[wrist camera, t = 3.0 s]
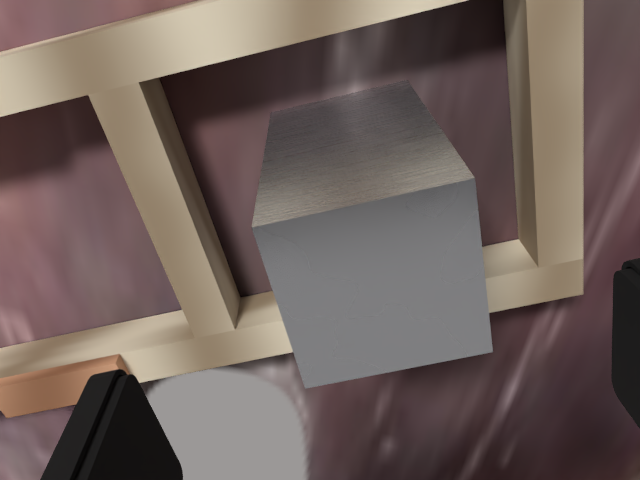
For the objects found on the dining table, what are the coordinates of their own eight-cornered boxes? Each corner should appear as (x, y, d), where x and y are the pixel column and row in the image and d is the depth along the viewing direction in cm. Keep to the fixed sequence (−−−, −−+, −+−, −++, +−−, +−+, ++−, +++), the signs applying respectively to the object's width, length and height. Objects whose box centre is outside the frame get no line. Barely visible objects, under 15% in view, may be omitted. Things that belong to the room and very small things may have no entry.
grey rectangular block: (407, 80, 18) (475, 178, 11) (426, 203, 20) (492, 352, 13) (270, 112, 18) (251, 227, 11) (304, 230, 20) (305, 388, 13)
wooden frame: (552, -92, 16) (592, -95, 13) (560, 264, 21) (589, 302, 19) (-272, 122, 18) (-352, 149, 16) (-62, 391, 24) (-100, 438, 21)
